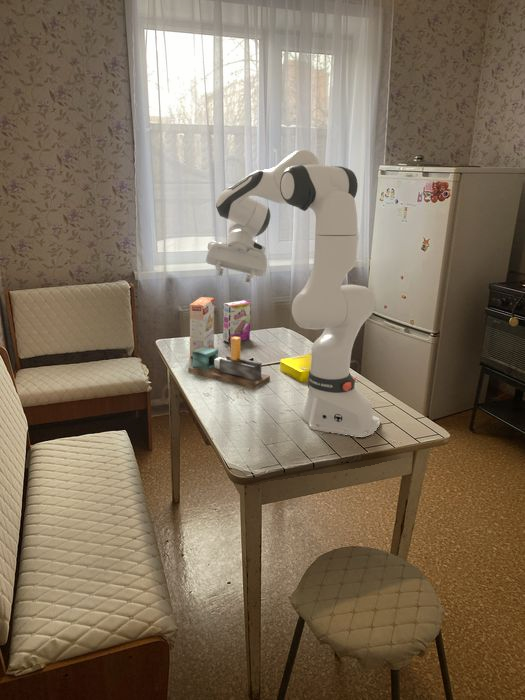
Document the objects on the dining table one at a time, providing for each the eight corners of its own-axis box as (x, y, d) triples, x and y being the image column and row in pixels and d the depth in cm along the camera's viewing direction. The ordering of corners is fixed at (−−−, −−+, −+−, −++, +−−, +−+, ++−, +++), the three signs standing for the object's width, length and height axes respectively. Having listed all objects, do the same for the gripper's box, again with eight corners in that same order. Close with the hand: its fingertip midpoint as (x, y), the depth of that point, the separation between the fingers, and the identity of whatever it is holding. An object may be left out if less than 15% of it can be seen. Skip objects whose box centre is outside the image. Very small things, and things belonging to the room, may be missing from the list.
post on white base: (247, 371, 181) (247, 338, 177) (242, 374, 179) (243, 341, 175) (219, 365, 187) (219, 332, 183) (214, 367, 184) (214, 334, 181)
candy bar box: (229, 343, 218) (229, 305, 213) (222, 340, 222) (222, 303, 217) (250, 339, 225) (251, 302, 220) (243, 336, 229) (244, 299, 223)
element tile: (310, 363, 199) (310, 351, 197) (335, 376, 187) (336, 363, 185) (277, 370, 191) (278, 358, 190) (301, 384, 179) (302, 371, 178)
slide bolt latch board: (269, 379, 181) (270, 359, 179) (254, 389, 173) (254, 367, 171) (205, 363, 195) (205, 344, 192) (188, 371, 187) (187, 351, 184)
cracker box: (204, 358, 200) (203, 305, 194) (189, 357, 201) (188, 304, 195) (215, 347, 213) (214, 297, 207) (200, 346, 214) (200, 296, 208)
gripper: (210, 233, 174) (204, 263, 166) (269, 248, 177) (266, 278, 169) (207, 246, 179) (201, 276, 171) (265, 261, 182) (261, 290, 174)
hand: (234, 277), depth 170 cm, fingers open, 8 cm apart
